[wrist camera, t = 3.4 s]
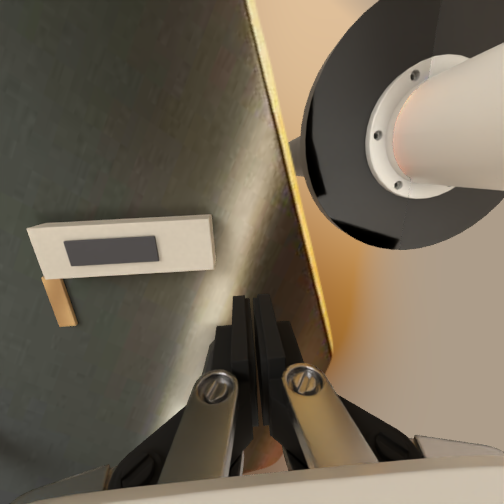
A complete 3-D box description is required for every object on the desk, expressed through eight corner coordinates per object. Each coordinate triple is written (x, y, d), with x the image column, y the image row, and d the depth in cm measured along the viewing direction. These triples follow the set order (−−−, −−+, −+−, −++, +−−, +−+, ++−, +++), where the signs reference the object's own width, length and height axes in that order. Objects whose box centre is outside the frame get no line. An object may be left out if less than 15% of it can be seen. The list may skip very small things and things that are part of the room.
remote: (211, 214, 23) (208, 219, 21) (216, 261, 25) (213, 270, 23) (45, 223, 23) (22, 229, 21) (61, 270, 25) (42, 281, 22)
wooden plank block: (61, 274, 25) (58, 276, 24) (78, 323, 27) (75, 325, 26) (44, 276, 25) (40, 277, 24) (61, 324, 27) (59, 326, 26)
